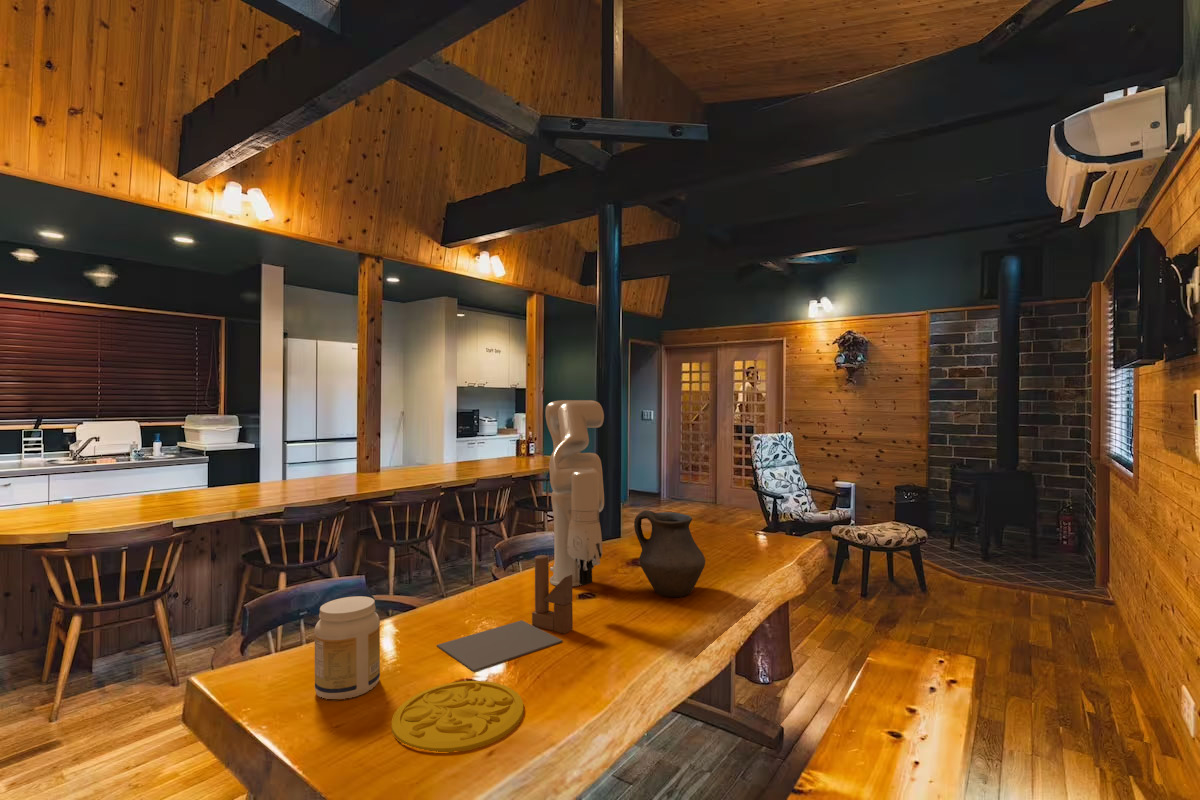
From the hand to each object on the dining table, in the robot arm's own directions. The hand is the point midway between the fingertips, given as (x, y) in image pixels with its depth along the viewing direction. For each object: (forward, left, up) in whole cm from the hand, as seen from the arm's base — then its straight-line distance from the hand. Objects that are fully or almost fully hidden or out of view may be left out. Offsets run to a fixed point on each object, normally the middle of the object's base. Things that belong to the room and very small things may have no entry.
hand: (585, 583), depth 155 cm
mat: (0, -27, -9) cm, 28 cm away
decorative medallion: (+23, -49, -10) cm, 55 cm away
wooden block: (0, -11, -9) cm, 15 cm away
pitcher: (+1, +33, -9) cm, 34 cm away
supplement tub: (-2, -61, -9) cm, 62 cm away
